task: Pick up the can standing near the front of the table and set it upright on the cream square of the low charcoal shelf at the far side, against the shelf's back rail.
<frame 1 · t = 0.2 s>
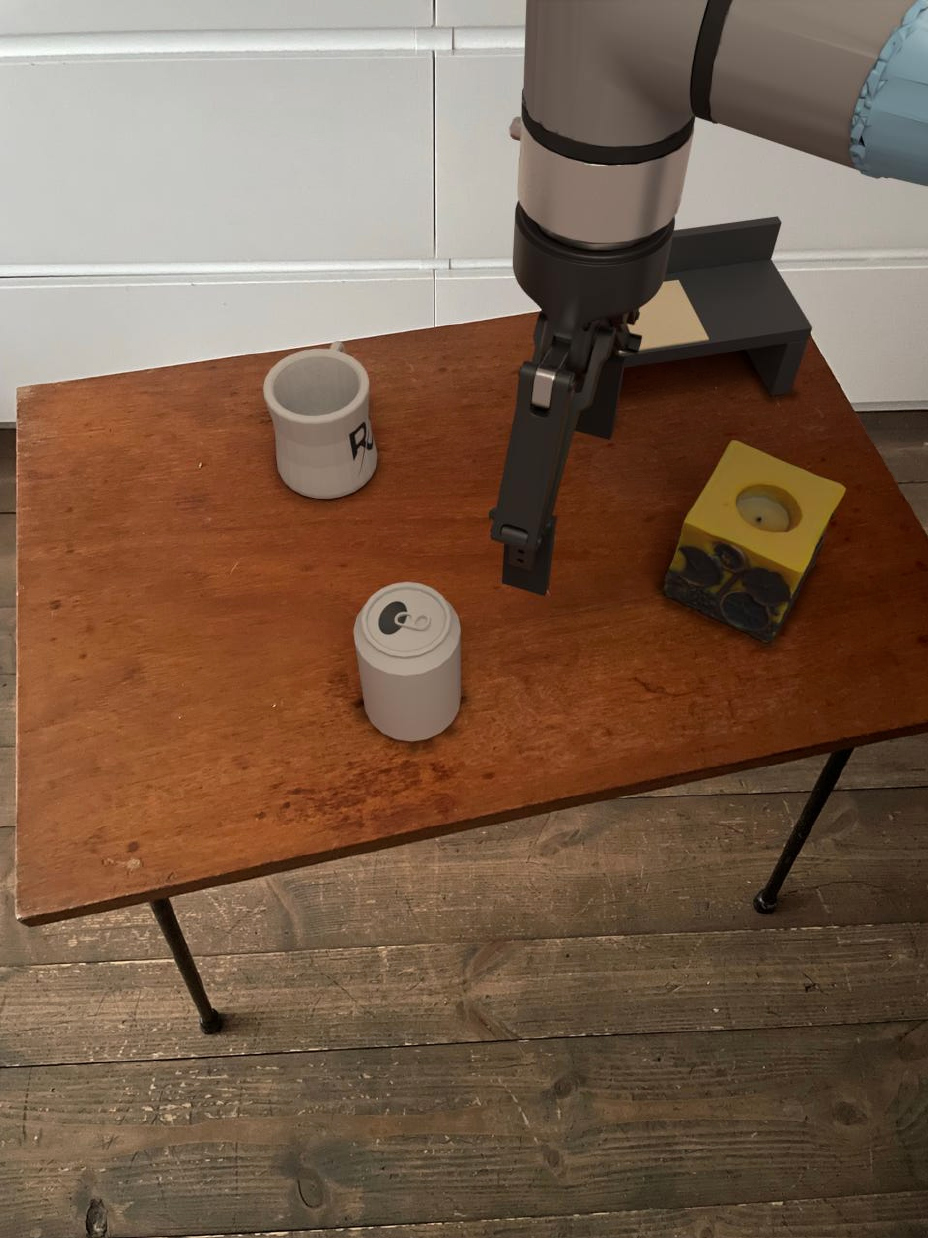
hand: (560, 504, 67), 21 cm above the table, tool pointing down, fingers open, 13 cm apart
mug: (333, 454, 98), on the table
shelf: (673, 369, 104), on the table
can: (412, 705, 83), on the table
candle: (737, 580, 90), on the table
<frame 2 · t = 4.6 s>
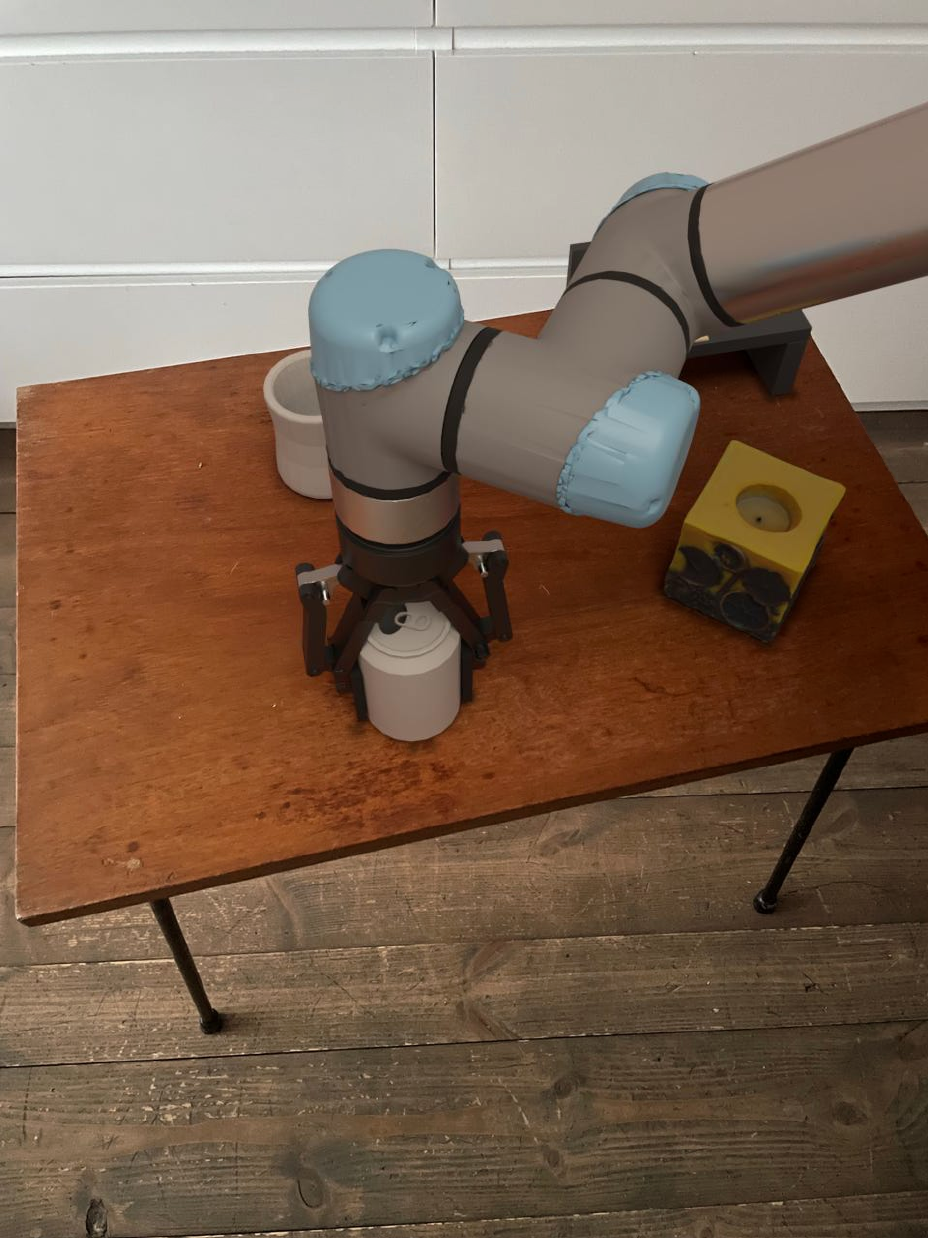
hand: (412, 696, 81), 1 cm above the table, tool pointing down, fingers closed on can, 7 cm apart
can: (412, 705, 83), on the table, touching gripper
everything else where it was.
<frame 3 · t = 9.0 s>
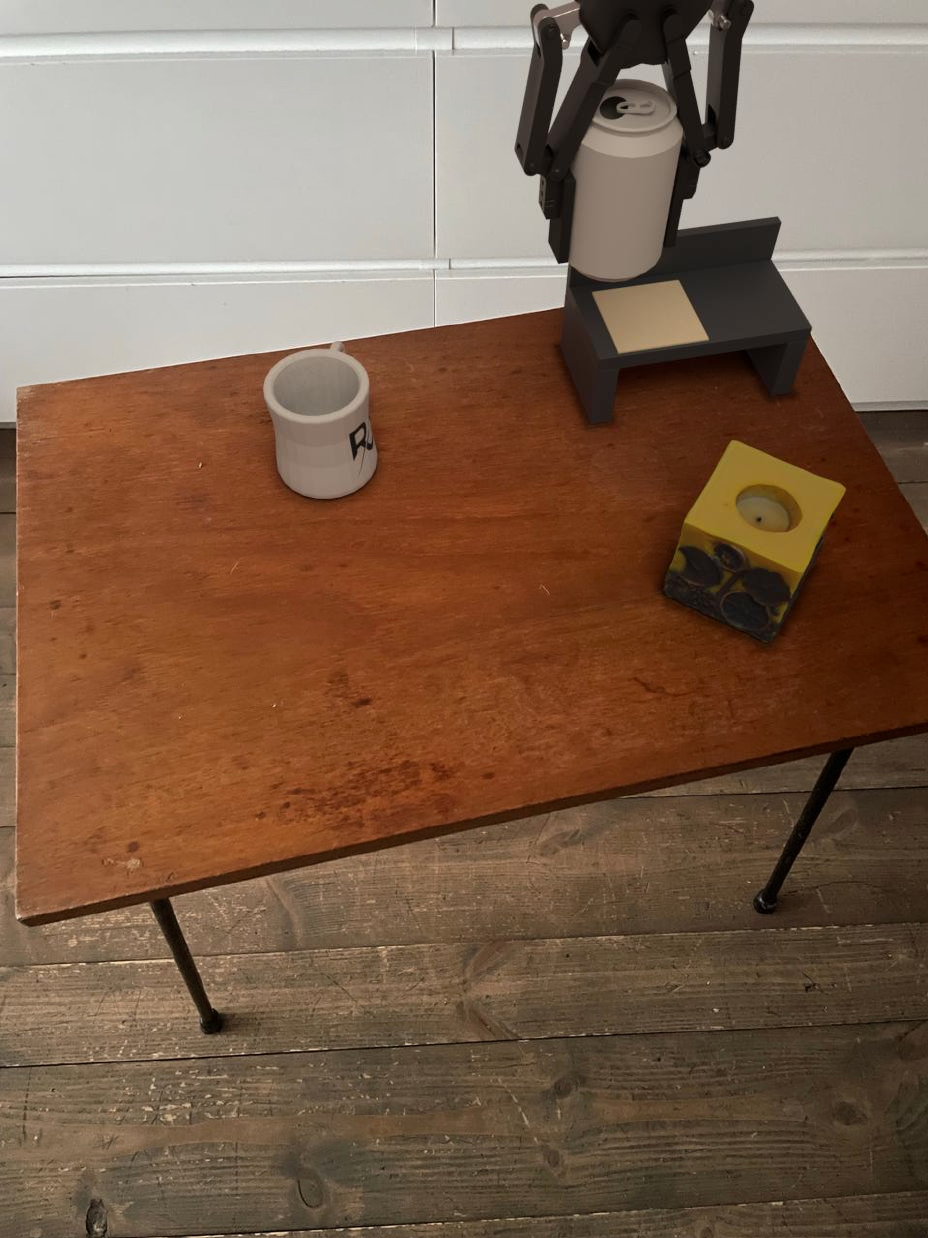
hand: (611, 243, 78), 23 cm above the table, tool pointing down, fingers closed on can, 7 cm apart
can: (608, 259, 79), point 22 cm above the table, touching gripper
everything else where it was.
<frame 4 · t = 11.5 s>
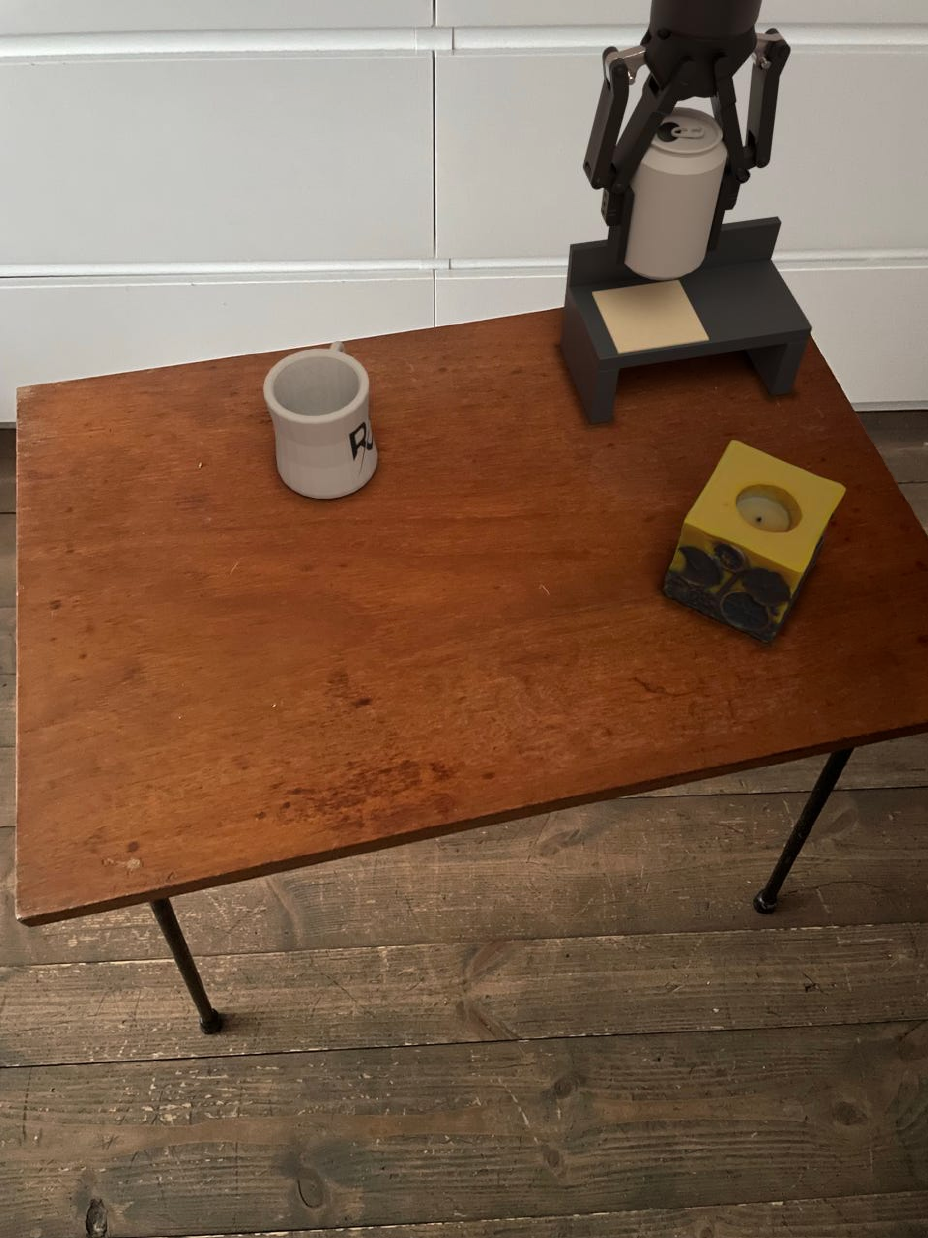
hand: (661, 247, 90), 15 cm above the table, tool pointing down, fingers closed on can, 7 cm apart
can: (658, 260, 91), point 14 cm above the table, touching gripper
everything else where it was.
when the fingers open (9 cm above the table, at t = 13.4 s): can stays where it is, resting on shelf.
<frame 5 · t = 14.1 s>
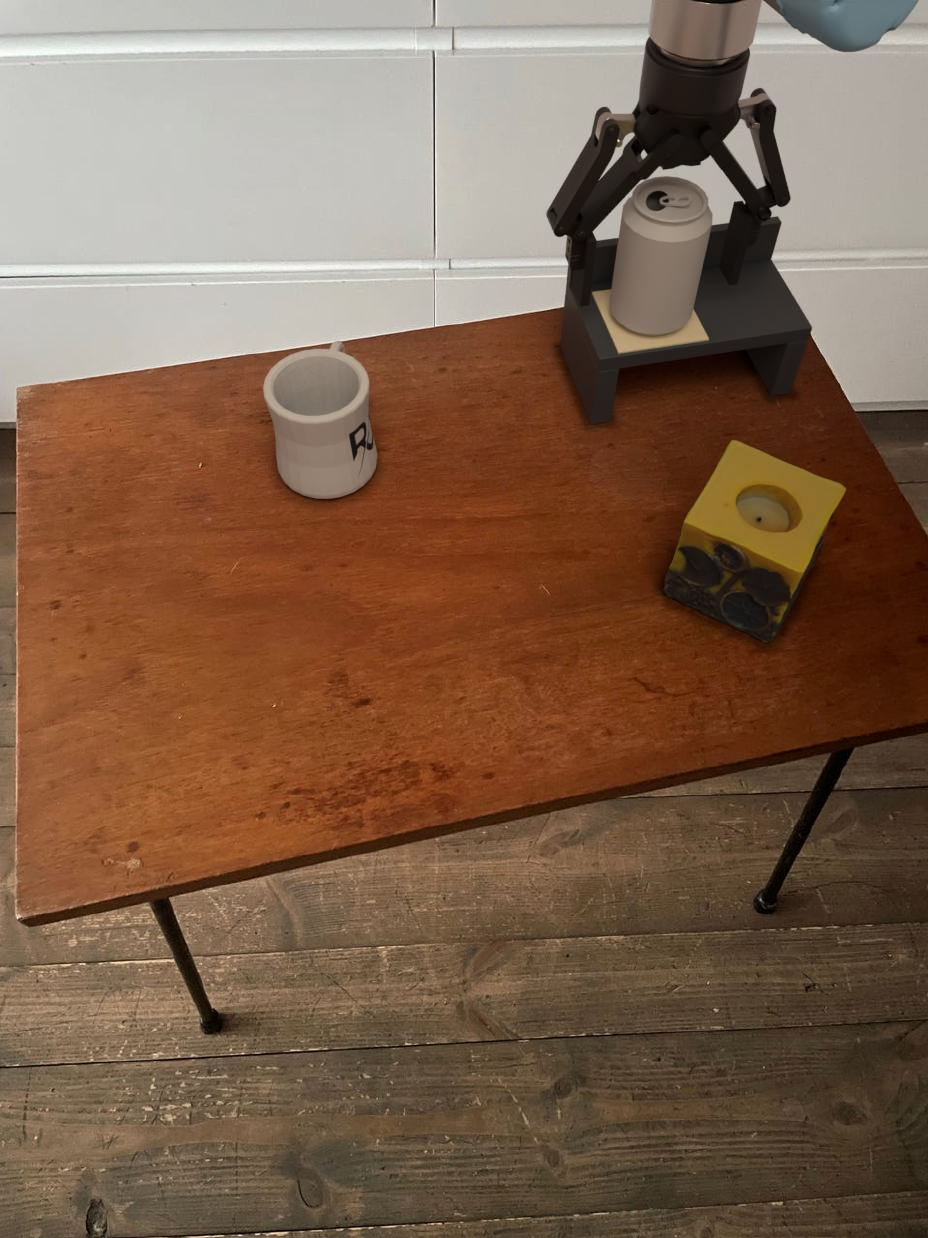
hand: (654, 285, 94), 11 cm above the table, tool pointing down, fingers open, 13 cm apart
can: (648, 316, 96), point 8 cm above the table, touching shelf
everything else where it was.
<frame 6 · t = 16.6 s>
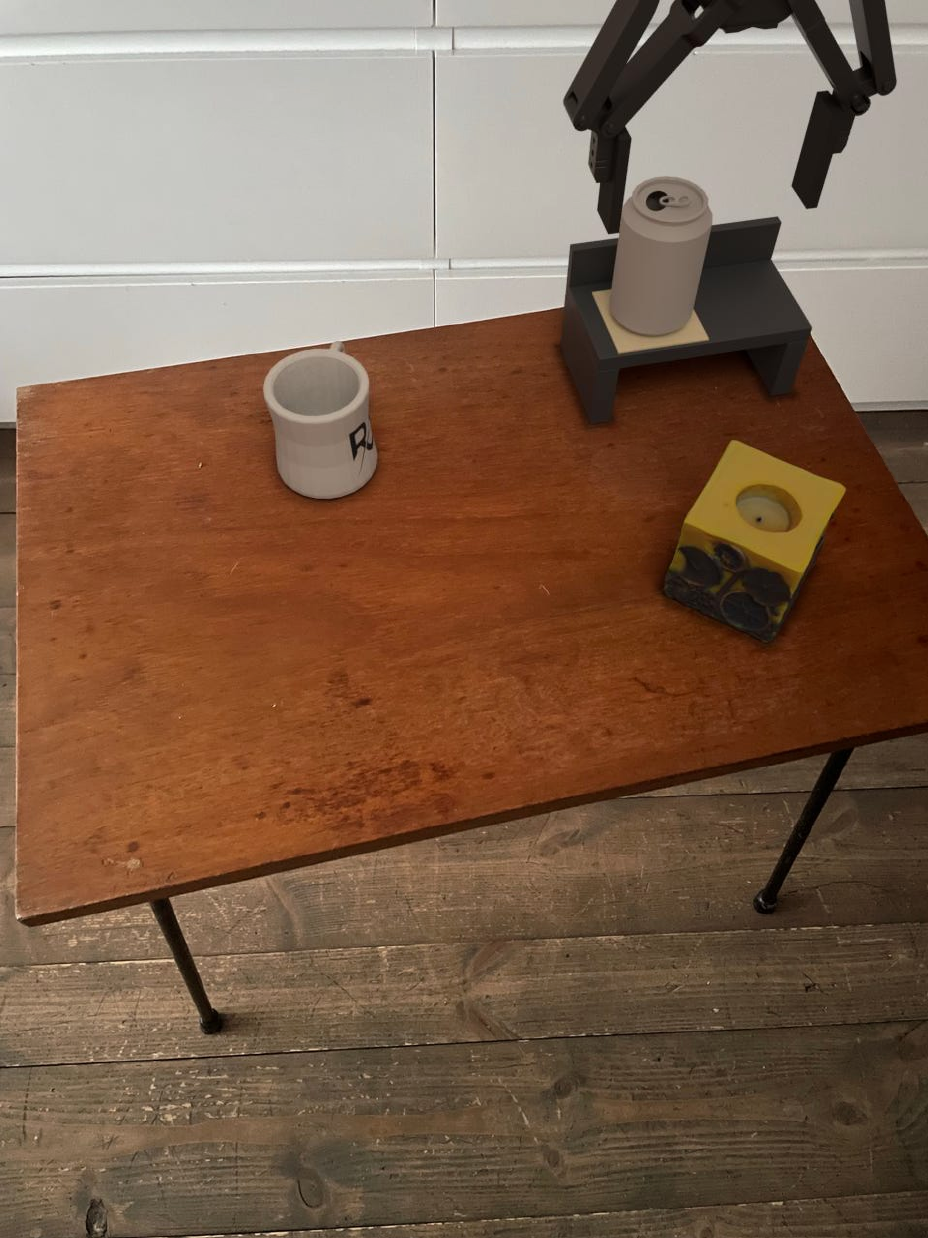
hand: (706, 209, 70), 29 cm above the table, tool pointing down, fingers open, 13 cm apart
nothing on the table moved.
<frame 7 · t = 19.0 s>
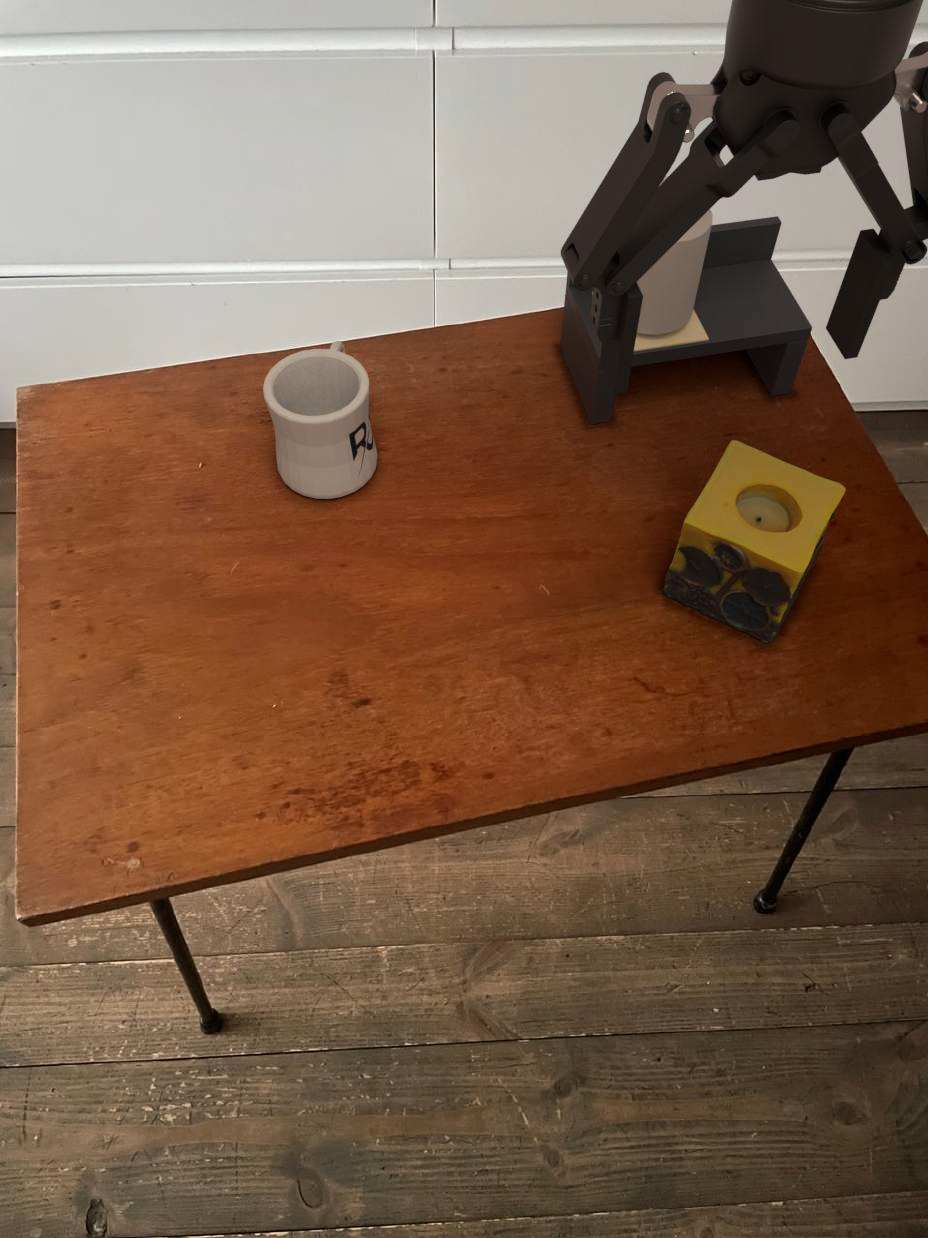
hand: (728, 360, 60), 31 cm above the table, tool pointing down, fingers open, 13 cm apart
nothing on the table moved.
at the end: can 0.0 cm from the target spot on the shelf, point 8.0 cm above the shelf's base; can tilted 0°; the gripper is holding nothing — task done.
